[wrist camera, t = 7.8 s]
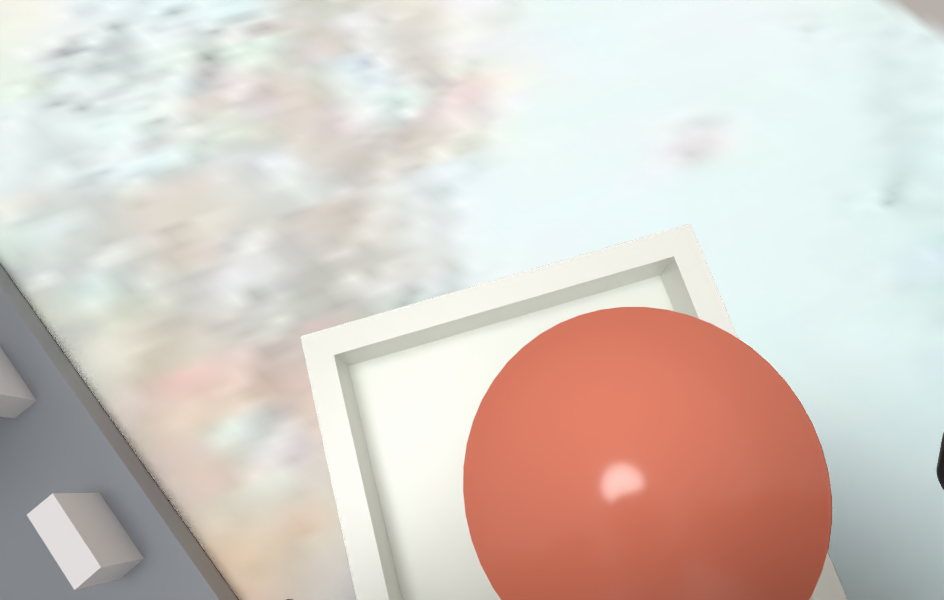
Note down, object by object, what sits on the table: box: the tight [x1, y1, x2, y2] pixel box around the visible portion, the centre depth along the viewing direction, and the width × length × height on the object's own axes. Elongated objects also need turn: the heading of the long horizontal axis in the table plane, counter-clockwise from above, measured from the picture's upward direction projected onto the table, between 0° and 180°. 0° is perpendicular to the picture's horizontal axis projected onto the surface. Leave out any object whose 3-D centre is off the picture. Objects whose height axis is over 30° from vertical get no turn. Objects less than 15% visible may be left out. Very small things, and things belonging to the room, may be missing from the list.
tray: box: [300, 224, 848, 600], centre depth 18 cm, size 12×12×2 cm
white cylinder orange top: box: [463, 307, 832, 600], centre depth 12 cm, size 4×4×12 cm
